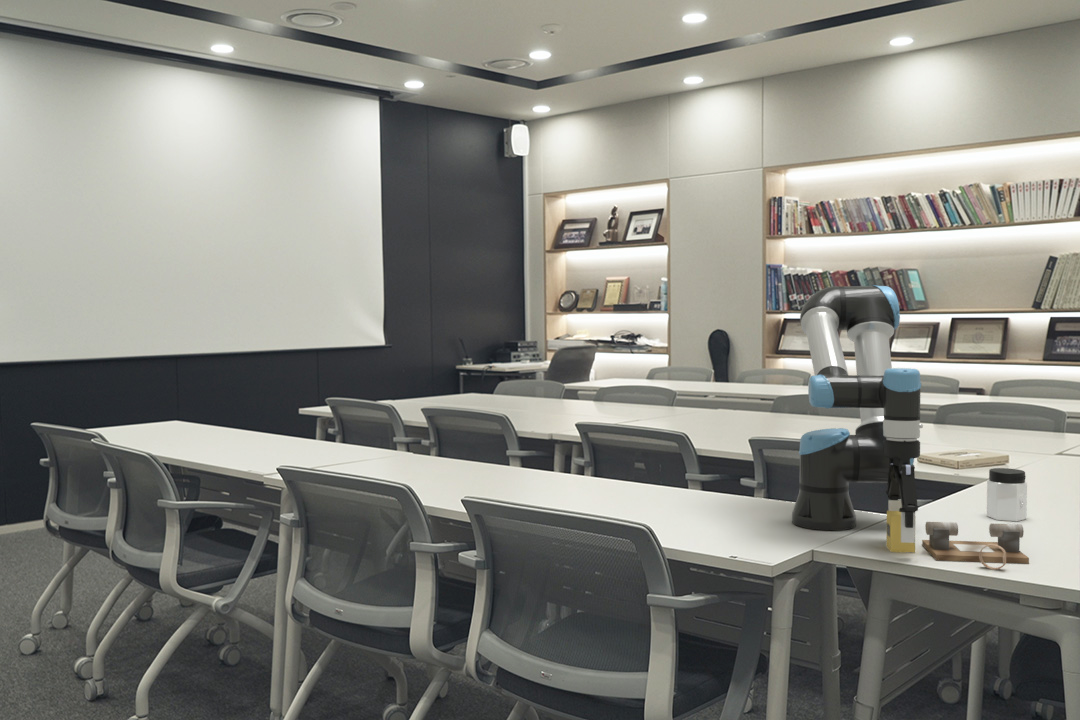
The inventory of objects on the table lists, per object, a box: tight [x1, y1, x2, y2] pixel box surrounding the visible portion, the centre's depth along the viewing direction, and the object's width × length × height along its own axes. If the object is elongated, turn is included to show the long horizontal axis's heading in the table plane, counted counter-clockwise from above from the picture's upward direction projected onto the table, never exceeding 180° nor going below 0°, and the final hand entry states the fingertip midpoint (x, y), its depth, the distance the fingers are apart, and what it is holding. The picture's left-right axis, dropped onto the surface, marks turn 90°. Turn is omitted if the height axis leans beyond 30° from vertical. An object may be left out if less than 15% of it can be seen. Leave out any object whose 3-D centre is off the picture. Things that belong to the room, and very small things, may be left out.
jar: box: [986, 467, 1028, 523], centre depth 232 cm, size 9×8×12 cm
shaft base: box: [921, 521, 1030, 564], centre depth 198 cm, size 19×13×7 cm
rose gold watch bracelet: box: [979, 544, 1007, 571], centre depth 187 cm, size 3×5×5 cm, turn 55°
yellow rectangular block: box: [886, 510, 916, 554], centre depth 203 cm, size 5×5×8 cm
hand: (901, 535), depth 202 cm, fingers open, 13 cm apart
